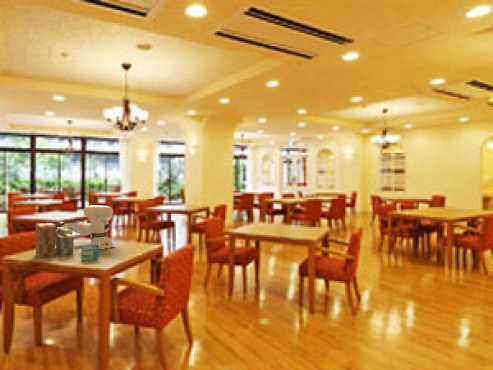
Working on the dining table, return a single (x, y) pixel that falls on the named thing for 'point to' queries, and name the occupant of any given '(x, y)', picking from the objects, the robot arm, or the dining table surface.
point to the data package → (89, 252)
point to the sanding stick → (63, 230)
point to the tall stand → (45, 240)
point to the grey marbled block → (64, 244)
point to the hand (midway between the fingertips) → (61, 229)
